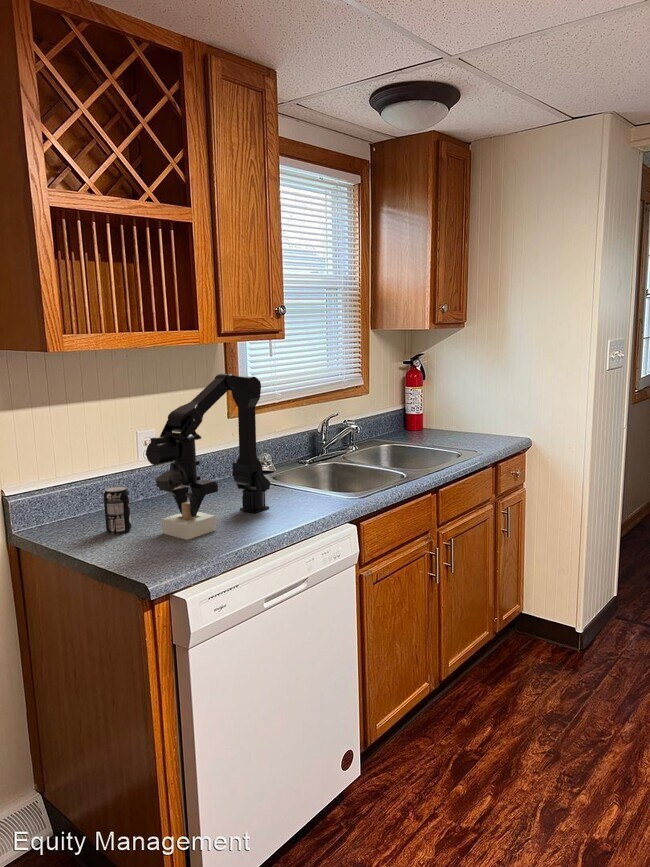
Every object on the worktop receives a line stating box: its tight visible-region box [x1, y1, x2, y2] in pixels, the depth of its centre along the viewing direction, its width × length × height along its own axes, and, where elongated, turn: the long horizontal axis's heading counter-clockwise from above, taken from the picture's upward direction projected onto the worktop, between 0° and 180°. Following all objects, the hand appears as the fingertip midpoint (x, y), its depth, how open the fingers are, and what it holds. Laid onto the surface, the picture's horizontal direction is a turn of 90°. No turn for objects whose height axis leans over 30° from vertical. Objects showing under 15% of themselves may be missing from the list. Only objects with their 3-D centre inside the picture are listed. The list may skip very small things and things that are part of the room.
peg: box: [181, 501, 195, 521], centre depth 178 cm, size 3×3×8 cm
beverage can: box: [103, 485, 132, 535], centre depth 180 cm, size 7×7×12 cm
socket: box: [161, 511, 217, 541], centre depth 179 cm, size 10×10×4 cm
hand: (188, 515), depth 178 cm, fingers open, 4 cm apart
